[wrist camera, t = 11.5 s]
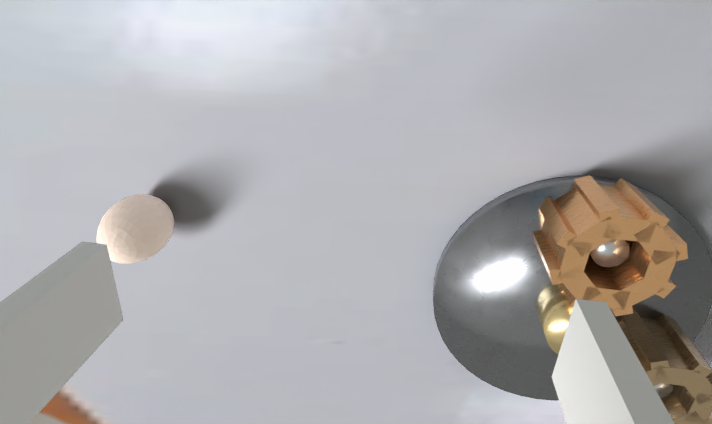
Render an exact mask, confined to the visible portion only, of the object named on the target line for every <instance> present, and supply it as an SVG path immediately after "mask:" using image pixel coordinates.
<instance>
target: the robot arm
mask: <svg viewBox="0 0 712 424" xmlns="http://www.w3.org/2000/svg"><path fill="white" fill-rule="evenodd" d="M122 321H123V316H122V311H121V307H120V302H119V298H118V293H117V289H116V284H115V280H114V275H113V270H112V266H111V261H110V257H109V252H108V248H107V244H99V243H90V242H81V243H80V244H78V245H77V246H76V247H74V248H73V249H72V250H70V251H69V252H68V253H66V254H65V255H64V256H62V257H61V258H60V259H58V260H57V261H55V262H54V263H53V264H51V265H50V266H49V267H47V268H46V269H45V270H43V271H42V272H41V273H39V274H38V275H37V276H35V277H34V278H33V279H31V280H30V281H29V282H27V283H26V284H25V285H23V286H22V287H20V288H19V289H18V290H16V291H15V292H14V293H12V294H11V295H10V296H8V297H7V298H6V299H4V300H3V301H2V302H0V424H29V423H30V422H31V421H32V420H33V419H34V417H35V416H36V415H37V414H38V413H39V412H40V411H41V410H42V409H43V408H44V406H45V405H46V404H47V403H48V402H49V401H50V400H51V399H52V398H53V397H54V395H55V394H56V393H57V392H58V391H59V390H60V389H61V388H62V387H63V386H64V384H65V383H66V382H67V381H68V380H69V379H70V378H71V377H72V376H73V375H74V373H75V372H76V371H77V370H78V369H79V368H80V367H81V366H82V365H83V364H84V363H85V361H86V360H87V359H88V358H89V357H90V356H91V355H92V354H93V353H94V352H95V350H96V349H97V348H98V347H99V346H100V345H101V344H102V343H103V342H104V341H105V339H106V338H107V337H108V336H109V335H110V334H111V333H112V332H113V331H114V330H115V328H116V327H117V326H118V325H119V324H120V323H121V322H122ZM552 380H553V383H554V386H555V389H556V393H557V396H558V399H559V402H560V405H561V408H562V412H563V415H564V418H565V421H566V424H674V422H673V420H672V418H671V416H670V415H669V413H668V411H667V409H666V408H665V406H664V404H663V402H662V400H661V399H660V397H659V395H658V393H657V391H656V390H655V388H654V386H653V384H652V383H651V381H650V379H649V377H648V375H647V374H646V372H645V370H644V368H643V367H642V365H641V363H640V361H639V359H638V358H637V356H636V354H635V352H634V351H633V349H632V347H631V345H630V343H629V342H628V340H627V338H626V336H625V334H624V333H623V331H622V329H621V327H620V326H619V324H618V322H617V320H616V318H615V317H614V315H613V313H612V311H611V310H610V308H609V306H608V304H607V302H598V301H590V300H581V299H576V300H575V303H574V307H573V310H572V313H571V316H570V319H569V323H568V326H567V329H566V332H565V335H564V339H563V342H562V345H561V348H560V351H559V355H558V358H557V361H556V364H555V368H554V371H553V374H552Z"/></svg>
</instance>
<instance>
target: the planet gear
mask: <svg viewBox="0 0 712 424" xmlns="http://www.w3.org/2000/svg"><path fill="white" fill-rule="evenodd" d="M574 184H575V188H573V189H572V190H570V191H568V192H567V193H565V194H564V195H562V196H561V197H559V198H557V199H556V200H555V199H554V198H552V197H550V196H547V198H546V199H545V200H544V202H543V203H542V204H541V205H540V207H539V209H540V211H541V213H542V215H543V217H544V223H543V227H542V230H539V231H534V232H533V235H534V240H535V244H536V246H537V249H538V251H539V254H540V256H541V258H542V261H543V263H544V266H545V268H546V270H547V273H548V275H549V278H550V280H551V282H552V285H556V284H560V285H561V287H562V289H563V292H564V294H565V296H566V298H567V301H568V303H569V305H570V306H572V307H574V303H575V300H576V299H581V300H590V301H598V302H607V304H608V306H609V308H611V310H612V311H613V313H614V315H615V316H621V315H627V314H633V308H632V306H633V305H635V304H637V303H639V302H641V301H643V300H645V299H647V298H649V297H651V296H653V295H655V294H656V295H658V296H660V297H662V298H665V297H666V296H667V295H668V294H669V293H670V292H671V291H672V290H673V289H674V288H675V287H676V285H675V284H674V283H673V282H672V280H671V279H670V275H671V273H672V270H673V268H674V266H675V263H676V261H680V260H685V259H688V252H687V243H686V242H685V241H684V240H683V239H682V238H681V237H680V236H679V235H677V234H676V233H675V232H674V231H673V230H672V229H671V228H670V227H669V226H668V225H667V223H668V222H669V221H670V220H669V219H668V218H667V217H666V216H665V215H664V214H663V213H662V212H661V211H660V210H659V209H658V208H657V207H656V206H655V205H654V204H653V203H652V202H651V201H650V200H649V199H648V198H647V197H646V196H645V195H644V194H643V193H641V192H640V191H639V190H638V189H637V188H636V187H635V186H634V185H633V184H631V183H629V182H627V181H625V180H623V179H621V178H620V179H619V180H618V182H617V183H616V184H615V185H614V186H613V185H603V184H597V182H596V181H595V180H594V179H593V178H592V177H591V175H589V176H585V177H581V178H577V179H574ZM612 239H620V240H625V241H626V242H627V244H628V245H629V250H630V251H629V255H628V257H627V259H626V260H625V261H624V262H622V263H621V264H619V265H617V266H614V267H602V266H600V265H598V264H596V263H595V262H594V260H593V259H592V257H591V255H590V251H592V250H594V249H596V248H597V247H599V246H601V245H603V244H605V243H606V242H608V241H610V240H612Z"/></svg>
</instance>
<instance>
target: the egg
mask: <svg viewBox="0 0 712 424" xmlns="http://www.w3.org/2000/svg"><path fill="white" fill-rule="evenodd" d="M173 228H174V218H173V214H172V212H171V210H170V208H169V206H168V205H167V204H166V203H165V202H164V201H162V200H161V199H159V198H157V197H154V196H151V195H133V196H129V197H126V198H124V199H122V200H120V201H119V202H117V203H116V204H115V205H113V206H112V207H111V208H110V209H109V210H108V211H107V212H106V213H105V215H104V216H103V218H102V220H101V222H100V225H99V227H98V230H97V238H96V240H97V243H99V244H107V248H108V252H109V257H110V260H111V261H113V262H116V263H123V264H124V263H134V262H138V261H142V260H146V259H148V258H150V257H152V256H153V255H155V254H156V253H158V252H159V251H160V250H161V249H162V248H163V247H164V246H165V245H166V244H167V242H168V241H169V239H170V238H171V235H172V232H173Z"/></svg>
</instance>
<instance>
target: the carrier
mask: <svg viewBox="0 0 712 424" xmlns="http://www.w3.org/2000/svg"><path fill="white" fill-rule="evenodd" d="M581 177H585V176H572V177H559V178H553V179H548V180H542V181H538V182H534V183H531V184H528V185H525V186H522V187H519V188H516V189H514V190H512V191H510V192H507V193H505V194H503V195H501V196H499V197H497V198H496V199H494V200H492V201H491V202H489V203H487V204H486V205H484V206H483V207H482V208H480V209H479V210H478V211H476V212H475V213H474V214H473V215H471V216H470V217H469V218H468V219H467V220H466V221H465V222H464V223H463V224H462V225H461V226H460V227H459V229H458V230H457V231H456V232H455V234H454V235H453V236H452V238H451V239H450V241H449V242H448V244H447V246H446V247H445V249H444V251H443V253H442V255H441V258H440V260H439V263H438V265H437V269H436V273H435V278H434V288H433V303H434V315H435V319H436V323H437V327H438V330H439V332H440V334H441V337H442V339H443V341H444V342H445V344H446V346H447V347H448V349H449V350H450V352H451V353H452V354H453V355H454V357H455V358H456V359H457V360H458V361H459V362H460V363H461V364H462V365H463V366H464V367H465V368H466V369H467V370H468V371H470V372H471V373H473V374H474V375H475V376H477V377H478V378H480V379H481V380H483V381H485V382H487V383H489V384H491V385H492V386H495V387H497V388H500V389H502V390H504V391H507V392H510V393H514V394H517V395H520V396H525V397H530V398H535V399H545V400H559V399H558V396H557V393H556V389H555V386H554V383H553V380H552V374H553V371H554V368H555V364H556V361H557V358H558V355H559V351H560V348H561V345H562V342H563V339H564V335H565V332H566V329H567V326H568V323H569V319H570V316H571V313H572V310H573V307H572V306H570V305H569V303H568V301H567V298H566V296H565V294H564V292H563V289H562V287H561V285H560V284H556V285H552V282H551V280H550V278H549V275H548V273H547V270H546V268H545V266H544V263H543V261H542V258H541V256H540V254H539V251H538V249H537V246H536V244H535V240H534V235H533V232H534V231H539V230H542V227H543V223H544V217H543V215H542V213H541V211H540V209H539V207H540V205H541V204H542V203H543V202H544V200H545V199H546V198H547V196H550V197H552V198H554V199H555V200H556V199H557V198H559V197H561V196H562V195H564V194H565V193H567V192H568V191H570V190H572V189H573V188H575V184H574V179H577V178H581ZM592 178H593V179H594V180H595V181H596V182H597V184H603V185H613V186H614V185H615V184H616V183H617V182H618V180H614V179H608V178H602V177H592ZM634 186H635V185H634ZM635 187H636V188H637V189H638V190H639V191H640V192H641V193H643V194H644V195H645V196H646V197H647V198H648V199H649V200H650V201H651V202H652V203H653V204H654V205H655V206H656V207H657V208H658V209H659V210H660V211H661V212H662V213H663V214H664V215H665V216H666V217H667V218H668V219H669V220H670V221H669V222H668V223H667V225H668V226H669V227H670V228H671V229H672V230H673V231H674V232H675V233H676V234H677V235H679V236H680V237H681V238H682V239H683V240H684V241H685V242H686V243H687V252H688V259H685V260H680V261H676V263H675V266H674V268H673V270H672V273H671V275H670V279H671V280H672V282H673V283H674V284H675V285H676V287H675V288H674V289H673V290H672V291H671V292H670V293H669V294H668V295H667V296H666V297H665V298H662V297H660V296H658V295H656V294H655V295H653V296H651V297H649V298H647V299H645V300H643V301H641V302H639V303H637V304H635V305H633V306H632V308H633V314H627V315H621V316H615V315H614V313H613V311H612V310H611V308H610V310H611V311H612V313H613V315H614V317H615V318H616V320H617V322H618V324H619V326H620V327H621V329H622V331H623V333H624V334H625V336H626V338H627V340H628V342H629V343H630V345H631V347H632V349H633V351H634V352H635V354H636V356H637V358H638V359H639V361H640V363H641V365H642V367H643V368H644V370H645V372H646V374H647V375H648V377H649V379H650V381H651V383H652V384H653V386H654V388H655V390H656V391H657V393H658V395H659V397H660V399H661V400H662V402H663V404H664V406H665V408H666V409H667V411H668V413H669V415H670V416H671V418H672V420H673V422H674V424H712V414H711V413H712V369H711V367H710V366H709V365H708V363H707V362H706V361H705V359H704V358H703V357H702V355H701V354H700V353H699V351H698V350H697V349H696V347H695V346H694V344H693V343H692V341H693V340H694V339H695V337H696V336H697V335H698V333H699V331H700V330H701V328H702V326H703V324H704V323H705V321H706V318H707V315H708V313H709V310H710V308H711V303H712V261H711V258H710V255H709V252H708V250H707V247H706V245H705V244H704V242H703V240H702V238H701V237H700V235H699V233H698V232H697V231H696V230H695V229H694V227H693V226H692V225H691V224H690V223H689V221H688V220H686V219H685V218H684V217H683V216H682V215H681V214H680V213H679V212H678V211H676V210H675V209H674V208H673V207H672V206H671V205H669V204H668V203H667V202H666V201H664V200H663V199H661V198H659V197H658V196H656V195H655V194H653V193H651V192H649V191H647V190H645V189H642V188H640V187H638V186H635ZM629 251H630V250H629V245H628V244H627V242H626V241H625V240H620V239H612V240H610V241H608V242H606V243H605V244H603V245H601V246H599V247H597V248H596V249H594V250H592V251H590V255H591V257H592V259H593V260H594V262H595V263H596V264H598V265H600V266H602V267H614V266H617V265H619V264H621V263H622V262H624V261H625V260H626V259H627V257H628V255H629Z"/></svg>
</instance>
